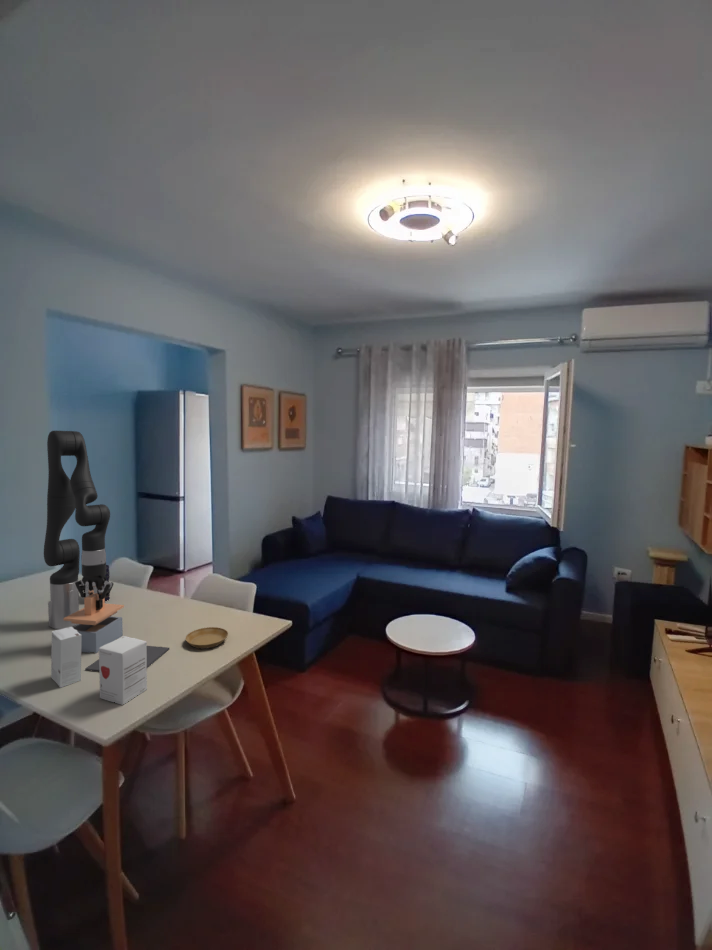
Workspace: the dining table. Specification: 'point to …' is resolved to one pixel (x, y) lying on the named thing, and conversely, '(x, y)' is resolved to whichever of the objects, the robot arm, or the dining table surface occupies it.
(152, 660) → the black rubber mat
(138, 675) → the supplement box
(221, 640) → the plant saucer
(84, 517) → the robot arm
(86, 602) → the peach handled lid
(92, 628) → the slate storage box
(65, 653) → the skincare box
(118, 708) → the dining table surface
